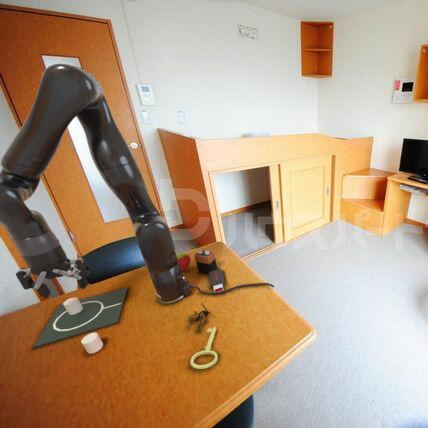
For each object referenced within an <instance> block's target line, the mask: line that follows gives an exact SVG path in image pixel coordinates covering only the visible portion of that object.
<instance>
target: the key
mask: <svg viewBox="0 0 428 428" xmlns="http://www.w3.org/2000/svg"><path fill="white" fill-rule="evenodd" d="M216 331H217V327H216V326H214V327H212V328H207V330H206V333H209V334H210V335H209V336H208V340H207V343H206V345H205V346H204V350H200V351H198V352H195V353H194V354H193V355H192V357H191V358H190V361H189V362H190V366H191V368H193V369H196V370H203V369H208V368H212V367H213V366H214V365H216V363H218V361H219V359H218V358H219V356H218V353H217V352H216V351H214V350H212V344H213V341H214V337H215V334H216ZM205 355H211V356H214V358H213V360H211V361H210V362H208V363H206V364H197V363H195V360H196V359H197V358H198V357H200V356H205Z"/></svg>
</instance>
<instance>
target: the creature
mask: <svg viewBox="0 0 428 428" xmlns="http://www.w3.org/2000/svg"><path fill="white" fill-rule="evenodd" d="M201 305H202V308H204V310H201V311H200V312H199V313H198V312H197V311H193V313H195V314H192V315H191V316H190V318H189V321H190V322H188V324H187V325H186V327H185V328H187V330H188V329H189V327H191V326H193V323H194V322H200V324H201V325H200V324H199V325H198V328H197V332H196V333H199V332H201V331H202V330H203V327H204V324H206V322H207V321H206V320H207V317H208V316H209V314H210V311H208V309H207V308H206V306H205V305H204V303H203V301H202V302H201ZM193 316H197V317H195V318H192V317H193ZM203 316H204V322H202V317H203ZM200 326H201V328H200ZM199 329H200V330H199Z"/></svg>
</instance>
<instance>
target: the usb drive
mask: <svg viewBox="0 0 428 428" xmlns="http://www.w3.org/2000/svg"><path fill="white" fill-rule="evenodd" d="M208 275H209V276H208V277H209V284H210V289H211V290H212V291H213V293H214V292H221V291H224V288H225V286H226V282H225V278H224V277H225V276H224V272H223V269H222V268H217V269H216V270H214V271H210V272H209V274H208Z"/></svg>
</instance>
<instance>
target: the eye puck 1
mask: <svg viewBox="0 0 428 428" xmlns="http://www.w3.org/2000/svg"><path fill="white" fill-rule="evenodd" d="M79 300H80V299H79V298H78V297H76V296H75V297H70V298H68V299H67V300H65V301H63V303H62V304H63V305H64V307H65V308H66V310H67V311H68V313H69V314H70V315H74V314H77V313H79V312H80V311H82V309H83V307H82V305H81V303H80V301H79Z"/></svg>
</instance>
